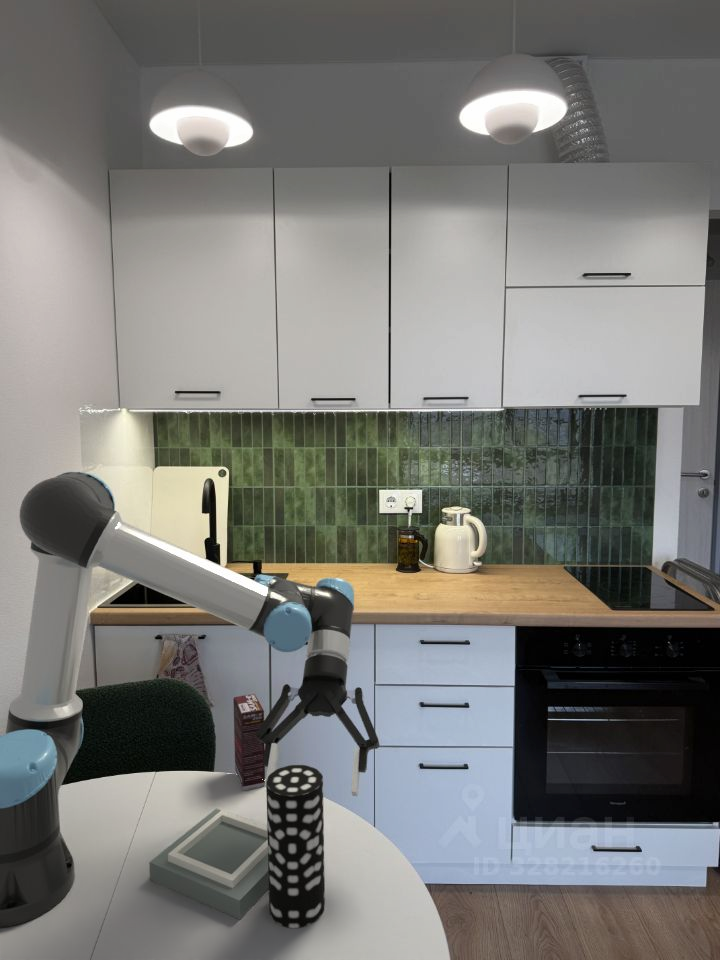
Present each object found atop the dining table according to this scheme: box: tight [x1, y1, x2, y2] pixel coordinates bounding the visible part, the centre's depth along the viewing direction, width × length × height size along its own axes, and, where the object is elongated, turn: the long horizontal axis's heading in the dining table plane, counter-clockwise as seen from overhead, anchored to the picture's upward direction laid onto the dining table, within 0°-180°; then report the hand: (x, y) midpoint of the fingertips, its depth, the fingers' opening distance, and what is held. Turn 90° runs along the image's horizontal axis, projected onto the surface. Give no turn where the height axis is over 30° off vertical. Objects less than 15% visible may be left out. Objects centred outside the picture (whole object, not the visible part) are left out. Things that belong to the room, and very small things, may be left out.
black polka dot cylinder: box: [265, 764, 326, 929], centre depth 96 cm, size 8×8×20 cm
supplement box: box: [232, 693, 266, 791], centre depth 132 cm, size 9×5×16 cm, turn 22°
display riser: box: [149, 808, 269, 920], centre depth 106 cm, size 18×16×4 cm
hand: (311, 791), depth 101 cm, fingers open, 13 cm apart
